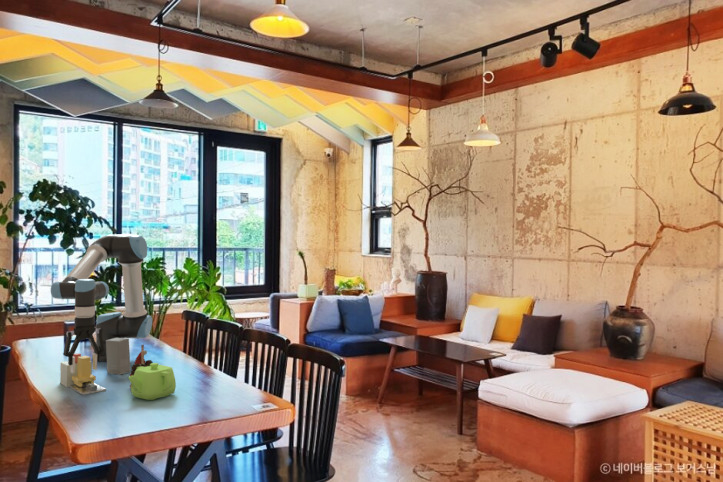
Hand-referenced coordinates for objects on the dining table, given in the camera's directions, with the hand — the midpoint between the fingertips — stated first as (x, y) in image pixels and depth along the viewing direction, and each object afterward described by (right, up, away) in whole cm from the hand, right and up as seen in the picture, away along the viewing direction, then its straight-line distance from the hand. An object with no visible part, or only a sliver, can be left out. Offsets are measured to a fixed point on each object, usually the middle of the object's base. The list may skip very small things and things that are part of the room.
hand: (83, 370), depth 229 cm
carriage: (0, -5, 0) cm, 5 cm away
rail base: (+3, -7, -3) cm, 8 cm away
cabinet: (-6, -7, +6) cm, 11 cm away
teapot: (+32, -8, -13) cm, 35 cm away
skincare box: (+3, -7, +24) cm, 25 cm away
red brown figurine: (+24, -7, +1) cm, 25 cm away
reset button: (-6, +1, +6) cm, 9 cm away
